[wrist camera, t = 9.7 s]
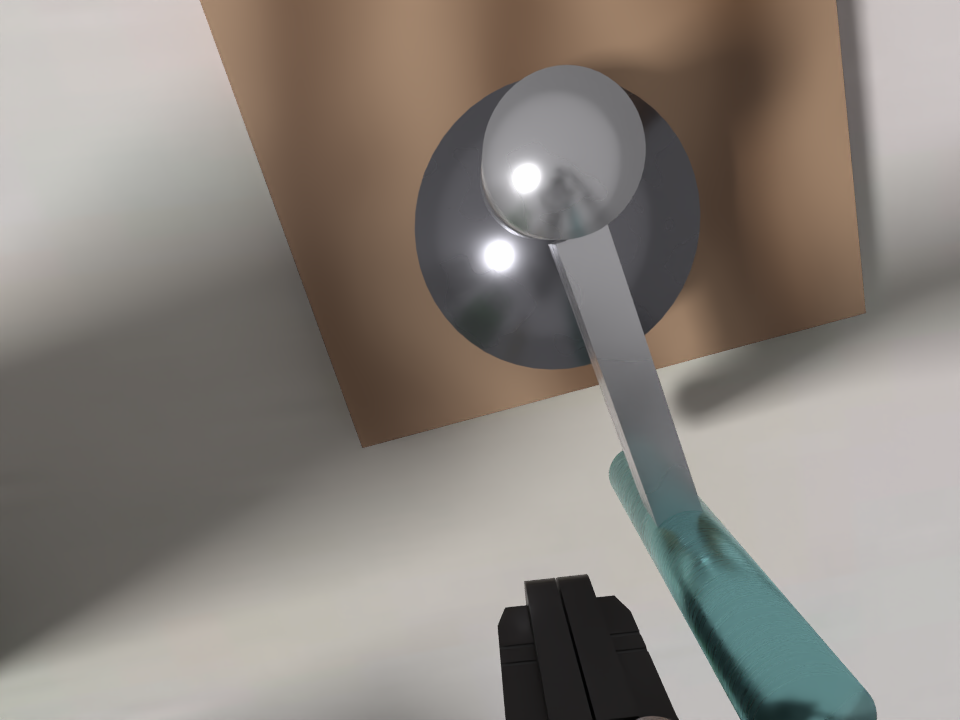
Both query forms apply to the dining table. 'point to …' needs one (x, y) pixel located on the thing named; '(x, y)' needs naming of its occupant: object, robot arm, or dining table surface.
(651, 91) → the stand
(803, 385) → the dining table surface
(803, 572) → the dining table surface
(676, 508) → the lever
